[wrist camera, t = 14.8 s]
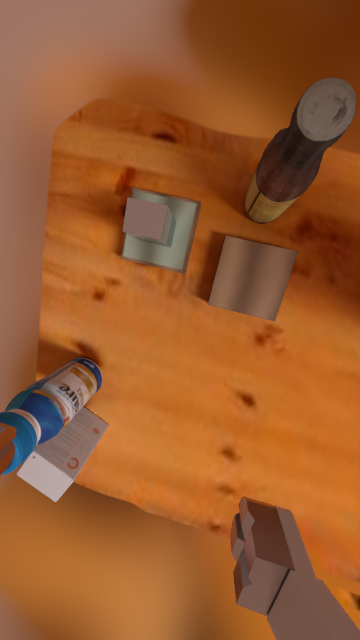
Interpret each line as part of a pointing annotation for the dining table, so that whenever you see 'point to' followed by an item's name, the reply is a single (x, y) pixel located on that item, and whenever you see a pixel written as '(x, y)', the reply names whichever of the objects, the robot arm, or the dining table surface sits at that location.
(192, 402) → the dining table surface
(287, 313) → the dining table surface
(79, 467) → the small box
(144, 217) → the housing
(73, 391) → the beverage bottle
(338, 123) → the sauce bottle
